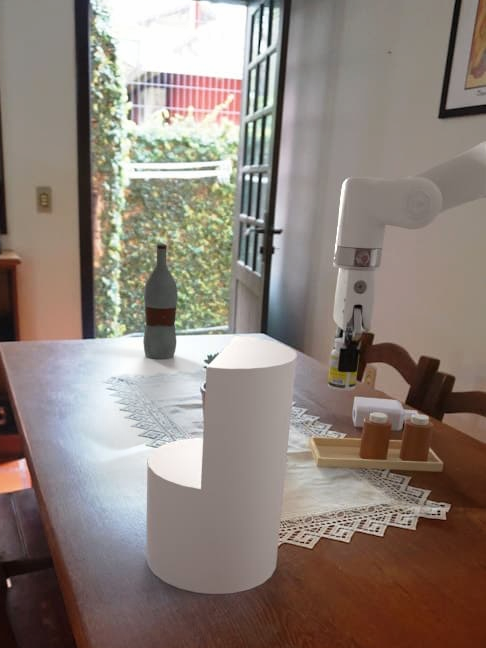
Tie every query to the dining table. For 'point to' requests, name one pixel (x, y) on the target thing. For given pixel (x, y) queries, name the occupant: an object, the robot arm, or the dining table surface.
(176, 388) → the dining table surface
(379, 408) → the charger
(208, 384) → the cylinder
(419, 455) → the amber bottle
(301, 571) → the dining table surface
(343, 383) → the supplement bottle
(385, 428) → the amber bottle
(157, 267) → the grey green soda bottle
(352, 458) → the tray
